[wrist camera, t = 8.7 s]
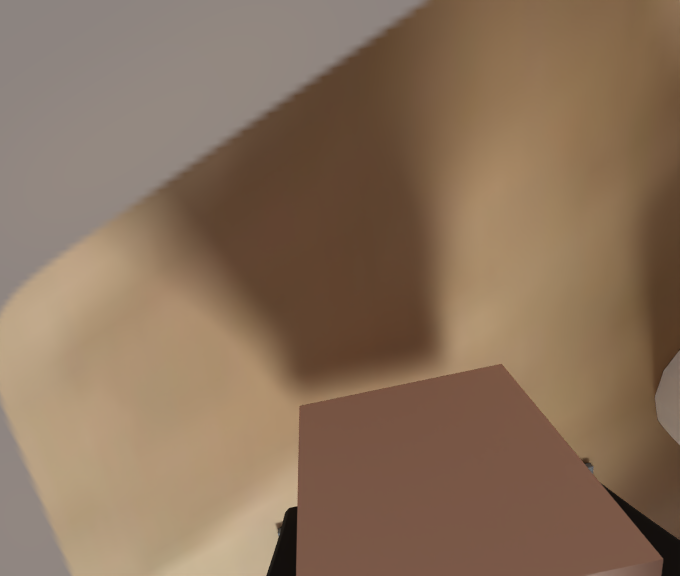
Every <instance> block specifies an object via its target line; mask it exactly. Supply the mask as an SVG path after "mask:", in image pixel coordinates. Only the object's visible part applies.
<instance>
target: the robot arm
mask: <svg viewBox="0 0 680 576" xmlns="http://www.w3.org/2000/svg"><path fill="white" fill-rule="evenodd" d="M602 486H603V487H604V488H605V489H606V490H607V492H608V493H609V494H610V495H611V496H612V498H613V499H614V500H615V501H616V502H617V504H618V505H619V506H620V507H621V509H622V510H623V511H624V512H625V513H626V515H627V516H628V517H629V518H630V519H631V521H632V522H633V523H634V524H635V525H636V527H637V528H638V529H639V530H640V531H641V533H642V534H643V535H644V536H645V537H646V539H647V540H648V541H649V542H650V544H651V545H652V546H653V547H654V548H655V550H656V551H657V552H658V553H659V554H660V556H661V557H662V558H663V566H662V574H661V576H680V540H679V539H677V538H676V537H674V536H673V535H671V534H670V533H669V532H667V531H666V530H664V529H663V528H661V527H660V526H659V525H657V524H656V523H654V522H653V521H652V520H650V519H649V518H647V517H646V516H645V515H643V514H642V513H640V512H639V511H638V510H636V509H635V508H633V507H632V506H631V505H629V504H628V503H627V502H625V501H624V500H623V499H621V498H620V497H619V496H617V495H616V494H615V493H613V492H612V491H611V490H609V489H608V488H606V487H605V486H604V485H603V484H602ZM297 508H298V506H297V507H292V508H289V509H288V510H287V511H286V512H285V516H284V520H283V524H282V527H281V531H280V535H279V538H278V541H277V545H276V548H275V551H274V554H273V557H272V560H271V563H270V566H269V570H268V573H267V575H266V576H296V556H297Z"/></svg>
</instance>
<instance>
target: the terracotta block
mask: <svg viewBox="0 0 680 576" xmlns="http://www.w3.org/2000/svg"><path fill="white" fill-rule="evenodd" d="M662 566H663V558H662V557H661V556H660V554H659V553H658V552H657V551H656V550H655V548H654V547H653V546H652V545H651V544H650V542H649V541H648V540H647V539H646V537H645V536H644V535H643V534H642V533H641V531H640V530H639V529H638V528H637V527H636V525H635V524H634V523H633V522H632V521H631V519H630V518H629V517H628V516H627V515H626V513H625V512H624V511H623V510H622V509H621V507H620V506H619V505H618V504H617V502H616V501H615V500H614V499H613V498H612V496H611V495H610V494H609V493H608V492H607V490H606V489H605V488H604V487H603V486H602V484H601V483H600V482H599V481H598V480H597V478H596V477H595V476H594V475H593V474H592V472H591V471H590V470H589V469H588V467H587V466H586V465H585V464H584V463H583V461H582V460H581V459H580V458H579V457H578V455H577V454H576V453H575V452H574V451H573V449H572V448H571V447H570V446H569V445H568V443H567V442H566V441H565V440H564V439H563V437H562V436H561V435H560V434H559V433H558V431H557V430H556V429H555V428H554V426H553V425H552V424H551V423H550V422H549V420H548V419H547V418H546V417H545V416H544V414H543V413H542V412H541V411H540V410H539V408H538V407H537V406H536V405H535V404H534V402H533V401H532V400H531V399H530V398H529V396H528V395H527V394H526V393H525V391H524V390H523V389H522V388H521V387H520V385H519V384H518V383H517V382H516V381H515V379H514V378H513V377H512V376H511V375H510V373H509V372H508V371H507V370H506V369H505V367H504V366H503V365H502V364H499V365H494V366H489V367H484V368H480V369H475V370H470V371H465V372H460V373H456V374H451V375H446V376H441V377H436V378H431V379H427V380H422V381H417V382H412V383H407V384H403V385H398V386H393V387H388V388H383V389H379V390H374V391H369V392H364V393H359V394H355V395H350V396H345V397H340V398H335V399H331V400H326V401H321V402H316V403H311V404H306V405H302V406H300V411H299V460H298V508H297V556H296V576H661V574H662Z"/></svg>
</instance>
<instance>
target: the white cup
mask: <svg viewBox="0 0 680 576" xmlns="http://www.w3.org/2000/svg"><path fill="white" fill-rule="evenodd" d="M655 403H656V411H657V419H658V421H659V422H660V424H661V425H662V426H663V427H664V428H665V430H666V431H667V432H668V433H669V435H670V436H671V437H672V438H673V439H674V440H675V441H676V442H677V443H678V444H679V445H680V350H679V351H678V353H677V354H676V355H675V357H674V358H673V359H672V360H671V362H670V363H669V364H668V366H667V367H666V368H665V370H664V371H663V374H662V377H661V380H660V383H659V386H658V389H657V392H656V395H655Z"/></svg>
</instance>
